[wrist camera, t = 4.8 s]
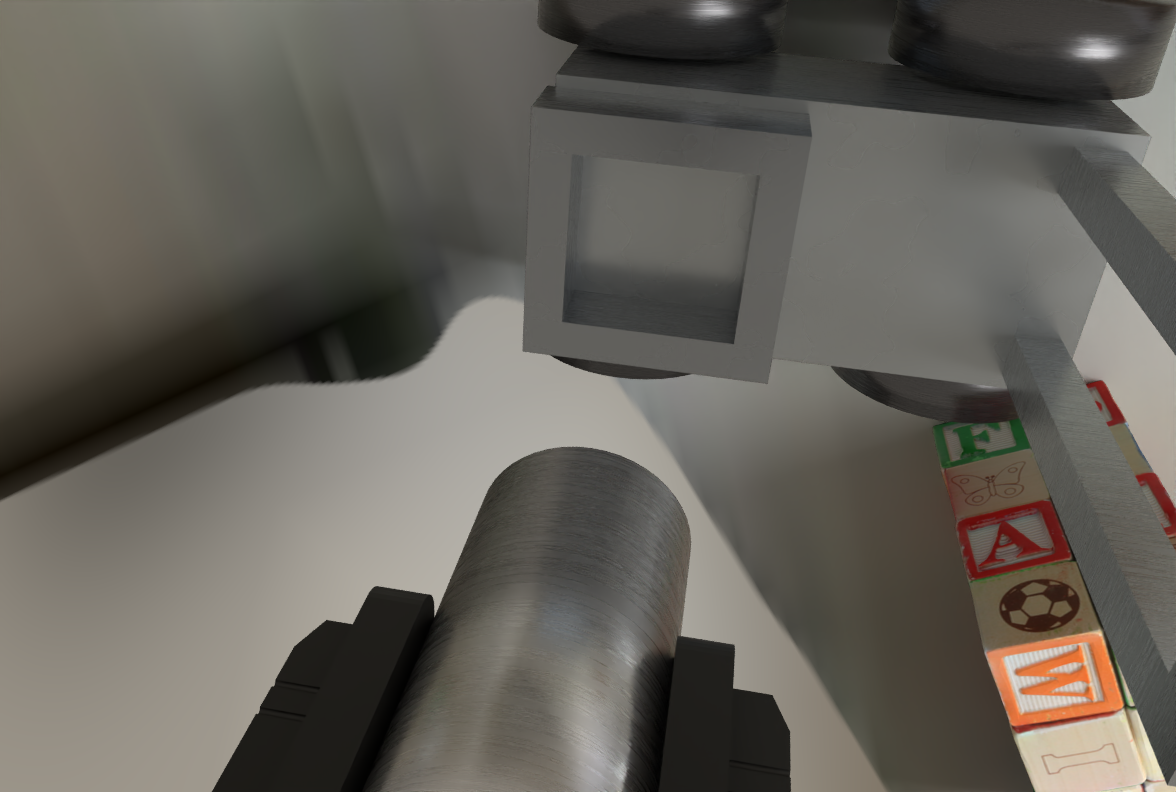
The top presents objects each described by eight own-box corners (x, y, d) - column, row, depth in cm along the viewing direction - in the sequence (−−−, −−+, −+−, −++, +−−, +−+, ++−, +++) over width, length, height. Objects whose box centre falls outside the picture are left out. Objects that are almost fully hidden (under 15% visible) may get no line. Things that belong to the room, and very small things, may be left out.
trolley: (1140, -45, 29) (1804, 237, 11) (1020, 331, 36) (1300, 927, 17) (565, -95, 31) (248, 71, 12) (547, 272, 37) (321, 755, 19)
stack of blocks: (1198, 771, 45) (1328, 1066, 35) (1050, 793, 47) (1130, 1077, 37) (1102, 373, 36) (1237, 607, 26) (925, 422, 38) (984, 656, 28)
